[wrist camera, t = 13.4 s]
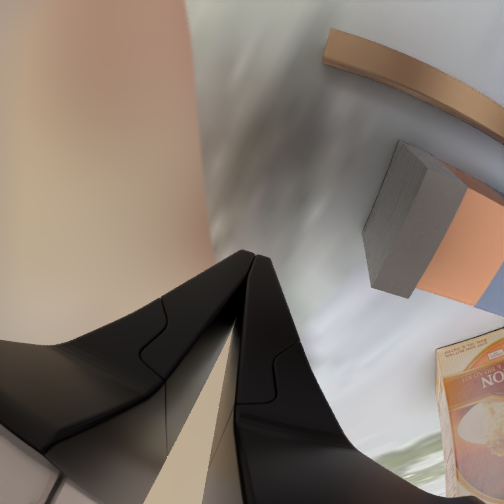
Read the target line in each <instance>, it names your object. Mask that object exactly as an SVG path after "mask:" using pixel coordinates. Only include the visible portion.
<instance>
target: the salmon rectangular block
mask: <svg viewBox="0 0 504 504" xmlns="http://www.w3.org/2000/svg"><path fill="white" fill-rule="evenodd" d="M440 162H441V161H440ZM441 163H442V164H443V165H444V166H446V167H447V168H448V169H449V170H450V171H451V172H452V173H453V174H455V175H456V176H457V177H458V178H459V179H460V180H461V181H462V182H463V183H464V184H465V185H467V186H468V189H467V191H466V193H465V195H464V197H463V200H462V202H461V204H460V206H459V208H458V210H457V212H456V214H455V216H454V218H453V220H452V222H451V224H450V226H449V228H448V230H447V232H446V234H445V236H444V238H443V240H442V242H441V244H440V246H439V247H438V249H437V251H436V253H435V255H434V256H433V258H432V260H431V262H430V264H429V265H428V267H427V269H426V271H425V272H424V274H423V276H422V277H421V279H420V281H419V282H418V284H417V286H416V287H415V288H418V289H421V290H425V291H428V292H431V293H434V294H437V295H440V296H443V297H446V298H449V299H452V300H456V301H459V302H462V303H465V304H468V305H471V306H475V305H476V303H477V302H478V300H479V299H480V297H481V296H482V295H483V293H484V292H485V290H486V289H487V287H488V286H489V284H490V282H491V281H492V279H493V278H494V276H495V275H496V273H497V271H498V270H499V268H500V267H501V265H502V263H503V262H504V199H503V198H502V197H501V196H500V195H499V194H498V193H497V192H496V191H494V190H493V189H492V188H491V187H490V186H488V185H486V184H484V183H483V182H481V181H479V180H477V179H475V178H473V177H471V176H469V175H467V174H466V173H464V172H462V171H460V170H458V169H456V168H454V167H452V166H450V165H447V164H445V163H443V162H441Z"/></svg>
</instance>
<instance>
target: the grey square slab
mask: <svg viewBox="0 0 504 504" xmlns="http://www.w3.org/2000/svg"><path fill="white" fill-rule="evenodd" d="M467 189H468V186H467V185H465V184H464V183H463V182H462V181H461V180H460V179H459V178H458V177H457V176H456V175H455V174H453V173H452V172H451V171H450V170H449V169H448V168H447V167H446V166H444V165H443V164H442V163H441V162H440V161H439V160H437V159H436V158H435V157H434V156H433V155H432V154H429V153H427V152H425V151H423V150H420V149H418V148H416V147H414V146H411V145H409V144H407V143H404V142H402V141H399V142H398V145H397V148H396V151H395V153H394V156H393V159H392V161H391V164H390V167H389V169H388V172H387V175H386V177H385V180H384V182H383V185H382V187H381V190H380V192H379V195H378V197H377V200H376V202H375V205H374V207H373V209H372V212H371V214H370V217H369V219H368V221H367V224H366V226H365V228H364V231H363V233H362V236H363V242H364V247H365V253H366V258H367V264H368V270H369V276H370V283H371V288H375V289H378V290H381V291H385V292H388V293H391V294H394V295H398V296H401V297H404V298H409V297H410V295H411V294H412V292H413V290H414V289H415V287H416V286H417V284H418V282H419V281H420V279H421V277H422V276H423V274H424V272H425V271H426V269H427V267H428V265H429V264H430V262H431V260H432V258H433V256H434V255H435V253H436V251H437V249H438V247H439V246H440V244H441V242H442V240H443V238H444V236H445V234H446V232H447V230H448V228H449V226H450V224H451V222H452V220H453V218H454V216H455V214H456V212H457V210H458V208H459V206H460V204H461V202H462V200H463V197H464V195H465V193H466V191H467Z"/></svg>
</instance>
